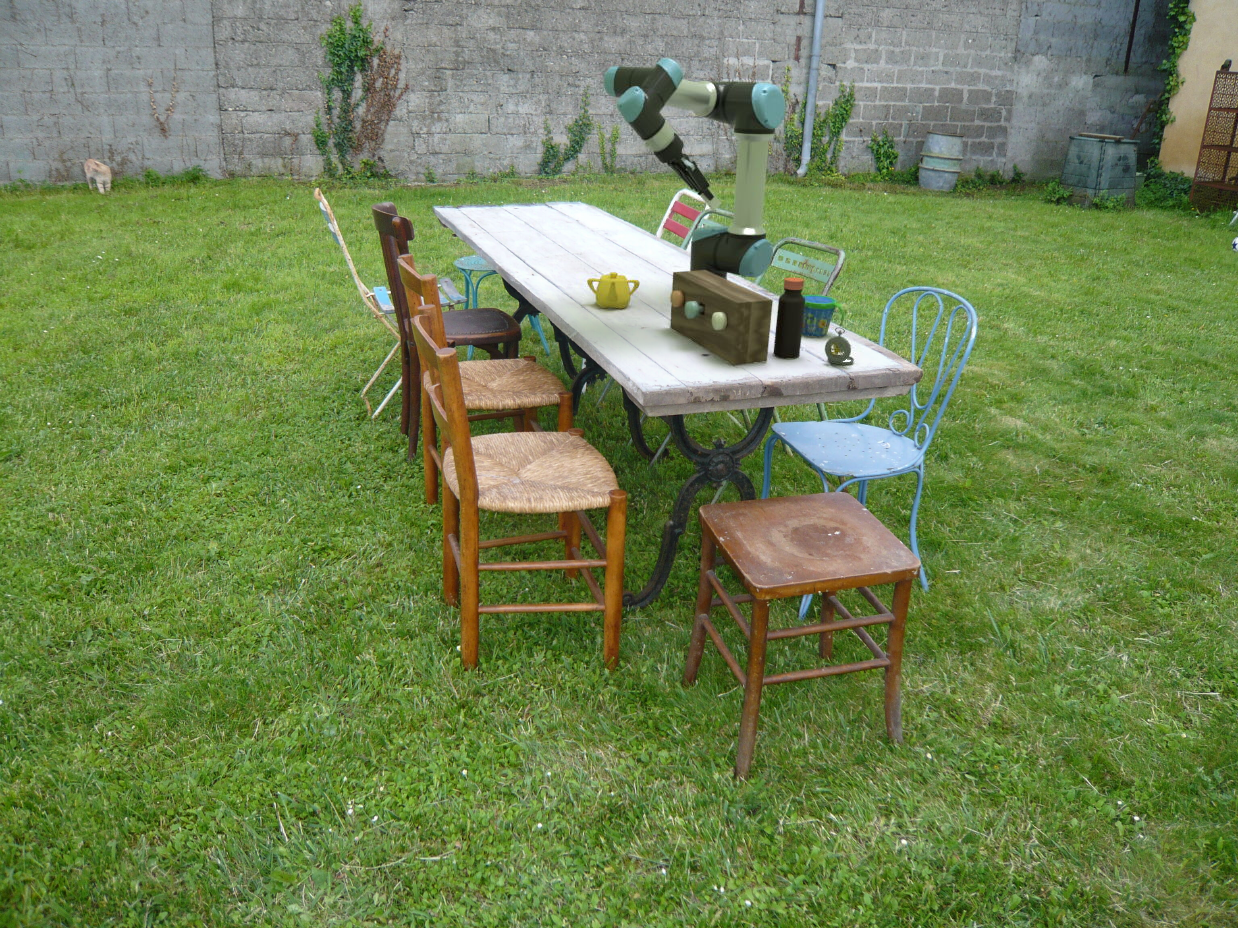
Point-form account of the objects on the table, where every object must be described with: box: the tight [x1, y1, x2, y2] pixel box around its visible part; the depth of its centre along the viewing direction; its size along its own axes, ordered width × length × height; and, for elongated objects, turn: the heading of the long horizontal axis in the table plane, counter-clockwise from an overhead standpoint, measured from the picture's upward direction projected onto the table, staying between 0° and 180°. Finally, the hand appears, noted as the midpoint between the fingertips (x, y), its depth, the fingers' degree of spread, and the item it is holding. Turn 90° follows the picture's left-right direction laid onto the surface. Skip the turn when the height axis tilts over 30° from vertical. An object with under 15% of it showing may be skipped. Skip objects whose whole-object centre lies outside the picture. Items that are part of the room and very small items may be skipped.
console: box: [669, 270, 774, 366], centre depth 245 cm, size 10×36×16 cm, turn 23°
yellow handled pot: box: [586, 271, 640, 310], centre depth 281 cm, size 14×13×10 cm
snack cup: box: [802, 294, 845, 338], centre depth 258 cm, size 16×10×10 cm
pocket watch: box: [824, 326, 855, 365], centre depth 234 cm, size 8×8×10 cm
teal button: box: [685, 301, 705, 319], centre depth 242 cm, size 6×4×4 cm
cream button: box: [712, 312, 727, 330], centre depth 233 cm, size 6×4×4 cm
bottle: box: [773, 276, 805, 359], centre depth 237 cm, size 7×7×20 cm
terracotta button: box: [670, 290, 684, 307], centre depth 253 cm, size 6×4×4 cm
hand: (716, 206), depth 248 cm, fingers closed
